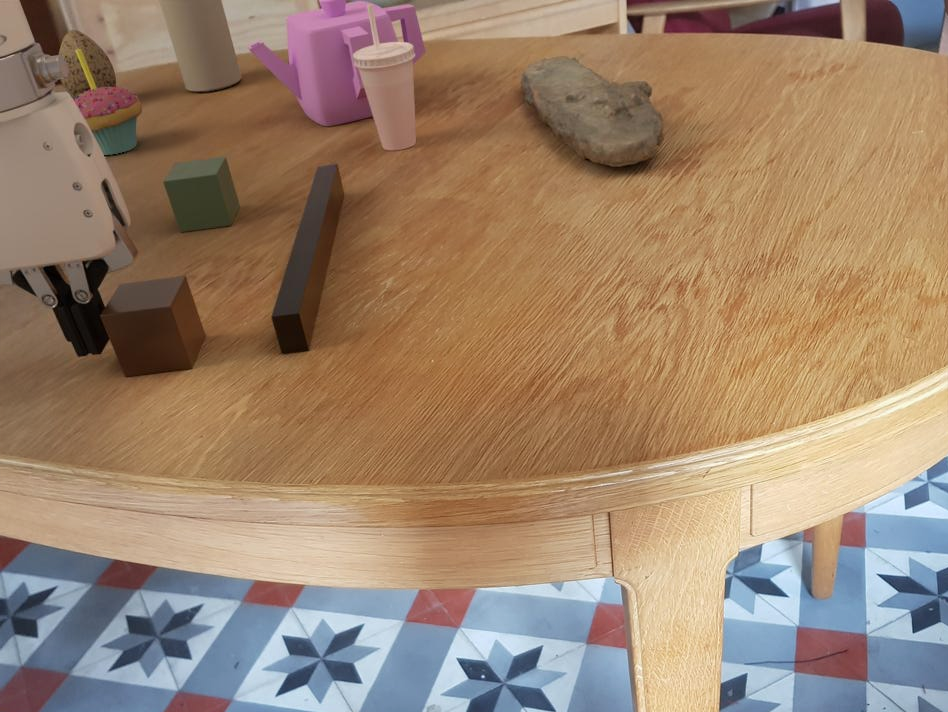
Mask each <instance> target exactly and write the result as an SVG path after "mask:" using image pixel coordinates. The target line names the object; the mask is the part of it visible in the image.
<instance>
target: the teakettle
mask: <svg viewBox="0 0 948 712" xmlns="http://www.w3.org/2000/svg"><path fill="white" fill-rule="evenodd" d="M318 2H319V5H320V7H321V8H317V9H312V10H308V11H304V12H299V13H294V14H290V15H288V16H287V18H286V39H287V53H288V62H289V63H288V62H286V61H285V60H284V59H282V58H281V57H280V56H279V55H277V54H276V53H275V52H274V51H273V50H271V49H270V48H269V47H268V46H266V44H265V42H264V41H263V40H259V41H256V42H255V43H252V44H250V45H248V46H247V50H249V52H250V53H251V54H252V55H253V56H255V58H256V59H258V61H259V62H261V63H262V65H263V66H264V67H265V68H267V69H268V70H269V72H270V73H271V74H273V76H275V77H276V79H278V81H279V82H280V83H282V85H284V86H285V87H286V88H287V90H288V91H290V92H291V93H292V94H293V95H294V96H295V97H296V100H297V101H298V103H299V105H300V107H301V108H302V110H303V112H304V114H305V116H306V117H308V119H310V120H312V121H313V122H315V123H316V124H318V125H320V126H323V127H333V126H338V125H339V126H340V125H343V124H348V123H352V122H355V121H360V120H365V119H369V118H373V114H372V111H371V108H370V105H369V101H368V98H367V95H366V92H365V88H364V85H363V82H362V79H361V76H360V72H359V69H358V67H356V66H355V65H354V58H353V54H354V53H355V52H356V51H358V50H360V49H362V48H365V47H368V46H372V45H374V42H373V36H372V30H371V25H370V19H369V14H368V8H367V5H369V4H373V10H374V16H375V22H376V27H377V33H378V39H379V44H381V43H389V42H399V40H398V37H397V35H396V31H395V28H394V26H393V22H396V21H399V22H400V28H401V34H402V38H403V39H402V41H403V42H406V43H410V44H412V45H413V47H414V53H415V57H414V58H413V65H415V63H417V61H419V60H420V59H421V58H422V57H423V56H424V55H425V54H426V53H427V52H426V48H425V43H424V39H423V35H422V31H421V27H420V23H419V19H418V15H417V11H416V7H415V6H414V5H412V4H410V3H407V4H400V5H395V6H388V7H381V6H379V5H377V4H375V3H372V2H369V1H365V0H356V1H351V2H347V0H318Z"/></svg>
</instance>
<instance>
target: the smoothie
mask: <svg viewBox="0 0 948 712" xmlns="http://www.w3.org/2000/svg"><path fill="white" fill-rule="evenodd" d="M373 4H374V3H372V4H369V5H367V8H368V14H369V19H370V25H371V30H372V36H373V42H374V45H372V46H368V47H365V48H362V49H360V50H358V51H356V52H355V53H354V54H353V58H354V65H355V66H356V67H358V69H359V72H360V76H361V79H362V82H363V85H364V88H365V92H366V95H367V98H368V101H369V105H370V108H371V111H372V114H373V117H372V118H373V121H374V123H375V127H376V130H377V133H378V136H379V140H380V143H381V147H382V149H383V150H385V151H401V150H406V149H409V148H412V147H413V146H415V145H416V144H417V131H416V130H417V129H416V106H415V83H414V64H413V58H414V57H415V53H414V47H413V45H412V44H410V43H406V42H404V41H398V42H389V43H381V44H379V39H378V33H377V27H376V22H375V16H374V10H373Z"/></svg>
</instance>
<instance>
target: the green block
mask: <svg viewBox="0 0 948 712" xmlns="http://www.w3.org/2000/svg"><path fill="white" fill-rule="evenodd" d="M231 173H232V172H231V170H230V167H229V163H228V159H227V157H226V156H220V157H219V156H218V157H211V158H204V159H196V160H191V161H190V160H188V161H183V162H175V163H174V165H173V166H172V168H171V169H170V171H169V172H168V173H167V175H166V177H165V178H164V180H163V182H162V183H163V187H164V189H165V192H166V193H167V197H168V200H169V203H170V206H171V209H172V212H173V215H174V218H175V221H176V225H177V228H178V231H179V233H187V232H193V231H194V232H196V231H203V230H209V229H218V228H224V227H230V226H231V227H232V225H233V222H234V221H235V219H236V216H237V214H238V211H239V209H240V207H241V205H240V202H239V198H238V194H237V191H236V188H235V183H234V181H233V176H232V174H231Z"/></svg>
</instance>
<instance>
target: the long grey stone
mask: <svg viewBox="0 0 948 712" xmlns="http://www.w3.org/2000/svg"><path fill="white" fill-rule="evenodd" d="M520 89H521V91H522V93H524V94H525V95H524V98H525V99H524V101H525V102H526V103H527V104H528V105H529V106H531V107H532V108H533V109H535V110H536V111H537V116H538V119H539V120H540V122H541V124H545V125H548V127H549V128H550V129H551V130H552V133H553V135H554V137H556V138H558V139H560V140H562V142H563V143H565V144H566V145H568V146H569V148H571V149H572V150H573V151H575V153H576V154H577V155H578V156H579V157H580V159H582V160H589V161H590V162H592V163H599V164H602V165H605V166H609V167H612V168H615V167H618V168H619V167H624V166H627V165H636V164H638V163H640V162H644V161H647V160H648V159H652V158H654V157H655V154H656V150H657V149H656V147H657V146H659V147H661V145H662V143H663V141H664V139H665V137H664V120H663V116H662V113H661V112H660V111H659V110H658V109H656V108H655V105H654V104H653V103H652V102H651V99H650V97H651V96H652V93H653V88H652V86H650V84H649V83H648V82H647V81H645V80H637V81H628V82H627V81H626V82H624V83H622V84H621V83H619V82H616V81H611V82H609V80H608V79H606V78H603V76H602V75H600V74H598V73H597V72H594V70H593V69H592V68H588V67H587V66H585V65H584V64H582V63H580V61H579V60H578V59H577V58H576V57H572V58H570V57H569V56H565V55H562V56H555V57H550V58H542V59H541V60H539V61H534V62H533V63H530V64H529V65H528V66H527V67H526V68H525V69H524V70H523V72H522V73H521V78H520Z"/></svg>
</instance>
